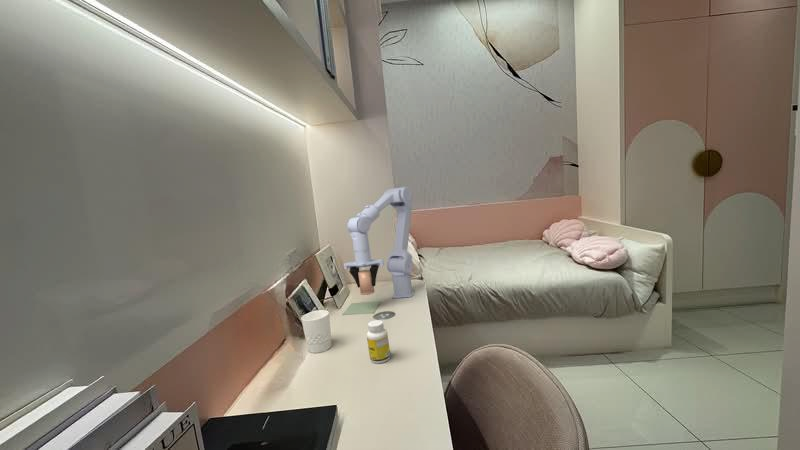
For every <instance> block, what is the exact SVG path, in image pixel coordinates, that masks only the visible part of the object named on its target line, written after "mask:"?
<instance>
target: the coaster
mask: <svg viewBox="0 0 800 450" xmlns="http://www.w3.org/2000/svg"><path fill="white" fill-rule="evenodd" d="M395 316H396V312H395V311H391V310H388V311H387V310H386V311H380V312H377V313H375V314H373V315H372V318H373V319H374V320H381V321H386V320H390V319H392V318H393V317H395Z"/></svg>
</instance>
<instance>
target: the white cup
mask: <svg viewBox="0 0 800 450" xmlns="http://www.w3.org/2000/svg"><path fill="white" fill-rule="evenodd" d="M300 319H301V325H302V328H303V334H304V338H305V341H306V346H307V349H308V350H307V351H308V352H309V353H311V354H319V353H323V352H326V351H328V350H330V348H331V347H332V345H333V343H332V331H331V321H330V320H331V319H330V311H328V310H321V309H320V310H313V311H310V312H308V313H305V314H303V315H302V316H301V317H300Z"/></svg>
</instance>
